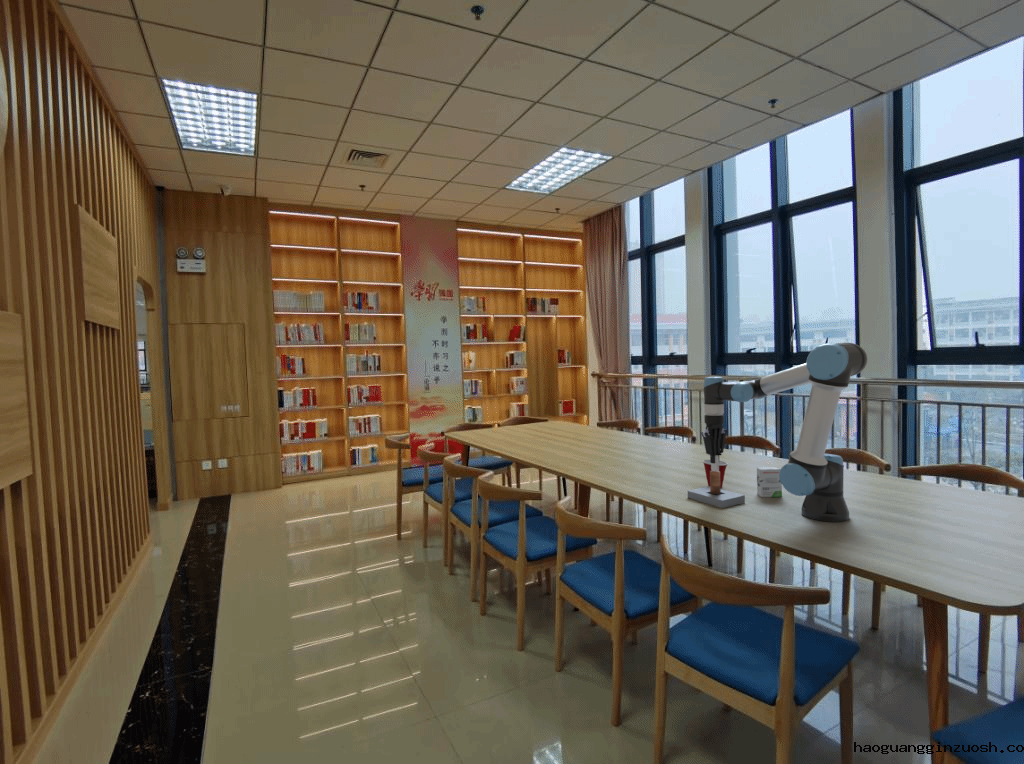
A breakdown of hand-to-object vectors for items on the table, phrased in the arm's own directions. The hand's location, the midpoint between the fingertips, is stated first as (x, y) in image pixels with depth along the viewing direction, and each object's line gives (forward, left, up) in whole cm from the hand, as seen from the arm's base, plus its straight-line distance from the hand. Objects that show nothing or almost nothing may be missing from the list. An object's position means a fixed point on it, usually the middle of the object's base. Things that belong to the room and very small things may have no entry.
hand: (715, 470), depth 216 cm
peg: (0, 0, -12) cm, 12 cm away
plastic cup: (+14, -16, -13) cm, 25 cm away
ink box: (-8, -23, -13) cm, 27 cm away
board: (0, 0, -12) cm, 12 cm away
